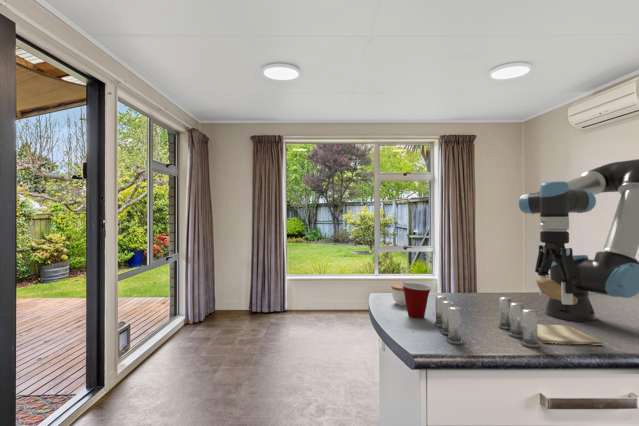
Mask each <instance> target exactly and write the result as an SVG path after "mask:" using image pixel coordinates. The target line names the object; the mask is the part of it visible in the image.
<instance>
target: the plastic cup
mask: <svg viewBox="0 0 639 426" xmlns="http://www.w3.org/2000/svg"><path fill="white" fill-rule="evenodd" d="M401 284H402V286H403V290H404V294H405V301H406V311H407V316H408V318H411V319H415V320H422V319H425V315H426V310H427V304H428V299H429V294H430V292H431V290H432V286H430V285H425V284H421V283H414V282H405V283H403V282H402V283H401Z"/></svg>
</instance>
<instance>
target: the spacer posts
mask: <svg viewBox="0 0 639 426" xmlns="http://www.w3.org/2000/svg"><path fill="white" fill-rule="evenodd" d="M512 299H513V298H512V297H509V296H500V297H499V302H498V303H499V323H498V326H497V327H498V328H499V329H501V330H506V331H509V332H508V335H509V337H512V338H515V339H522V340H521V343H520V344H521V345H522V346H524V347H526V348H529V349H539V348H540V343H539V342H538V341H539V340H538V333H537V324H538V310H536V309H532V308H531V309H530V308H524V304H523V303H522V302H515V301H514V302H513V301H512ZM454 304H455V303H454V301H451V300H448V296H446V295H441V294H440V295H435V321H434V327H437V328H441V329H440V330H439V331H440V334H441V335H444V336H447V338H446V343H448V344H449V345H455V346H461V345H463V344H464V340H463V338H462V333H463V332H462V307H458V306H454Z"/></svg>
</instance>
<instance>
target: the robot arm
mask: <svg viewBox="0 0 639 426" xmlns="http://www.w3.org/2000/svg"><path fill="white" fill-rule="evenodd" d="M615 192H616V193H619V194H620V198H619V201H618V204H617V207H616V210H615V212H614V213H615V214H614V216H613V220H612V222H611V225H610V228H609V231H608V234H607V236H606V240H605V243H604V246H603V249H602V250H599V251H597V252H596V253H595V255H594V258H593V259H590V258H589V257H588V255H587V254H575V255H574V254H573V248H572V247H566V245H565V244H569V243H570V233H569V231H568V230H569V229H570V217H569V215H570V213H577V214H582V213H583V214H584V213H588V212H590V211H592V210H593V209H594V208H595V206H596V204H597V199H596V197H595V195H599V194H601V193H615ZM518 206H519V210H520V211H521V212H522V213H524V214H532V215H534V214H540V215H539V219H540V220H539V225H540V229H541V231H540V232H539V236H540V237H539V241H540V243H543V244H544V245H543V244H541V245H538V254H537V259H536V264H535V270H534V272H535V273H537V275H538V276H539V277H538V279H539V278H540V277H541V276H542V277H545V278H548V279H552V280H554V281H555V282H556V283H558V284H559V285H561V296H562V301H560V300H557V299H552V298H550V297H549V296H548V300H547V302H546V305H545V314H546V315H548V316H551V317H553V318H557V319H562V320H566V321H573V322H593V321H592V320H594V321H596V313H595V311H594V307H593V305H592V303H591V300H590V298H589V297H590V296H589V293H593V294H594V293H595V294H599V295H604V296H605V295H606V296H608V297H609V296H610V297H613V298H625V299H630V298H632V297H635V296H636V295H638V294H639V260H638V259H637V258H636V256H637V252H638V249H639V158H638V159H636V158H635V159H632V160H631V159H629V160H624V161H615V162H610V163H607V164H604V165H601V166H598V167H595V168H593V169H590V170H587V171H585V172H583V173H582V174H581V175H579V177H575V178H573V179H570V180H567V181H561V180H560V181H547V182H543V183H541V184H540V186H539V191H537V192H533V193H532V192H528V193H524V194H522V195H521V196H520V197H519V199H518ZM573 295H574V296H575V297H576V298H577V299H578V302H577V303H576V304H573ZM539 296H541V297H542V296H543V297H545V296H546V297H547V295H546V294H544V293H542V292H541V290H540V289H539Z"/></svg>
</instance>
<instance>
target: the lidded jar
mask: <svg viewBox="0 0 639 426" xmlns="http://www.w3.org/2000/svg"><path fill="white" fill-rule="evenodd" d="M403 283H406V282H405V281H403V282H402V283H395V284H392V285H391V286H390V287H391V295H392V298H393V300H394V302H395V303H396V304H397V305H398V304H399V306H403V305H406V301H405V294H404V290H403V286H402V284H403Z"/></svg>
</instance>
